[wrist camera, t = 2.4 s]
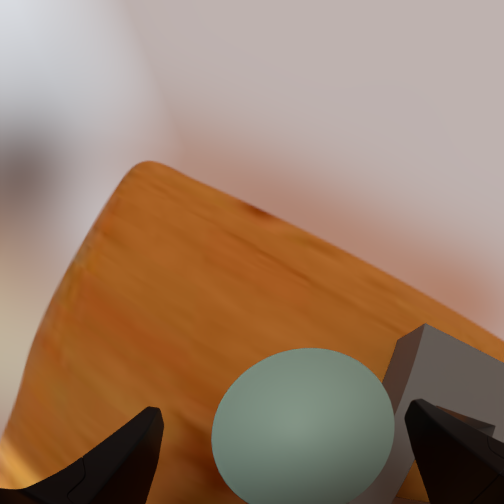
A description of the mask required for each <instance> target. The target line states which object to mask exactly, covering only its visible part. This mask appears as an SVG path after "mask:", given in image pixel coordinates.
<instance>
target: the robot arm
mask: <svg viewBox="0 0 504 504" xmlns="http://www.w3.org/2000/svg"><path fill="white" fill-rule="evenodd" d="M404 420H405V424H406V428H407V432H408V436H409V440H410V444H411V448H412V451H413V454H414V457H415V460H416V463H417V465H418V468H419V471H420V474H421V477H422V480H423V483H424V485H425V488H426V491H427V494H428V498H429V501H430V504H504V443H503V442H501V441H499V440H497V439H495V438H493V437H491V436H489V435H486V434H485V433H483V432H481V431H479V430H478V429H476V428H474V427H472V426H470V425H468V424H467V423H465V422H463V421H461V420H459V419H457V418H456V417H454V416H452V415H450V414H449V413H447V412H445V411H443V410H441V409H440V408H438V407H436V406H434V405H433V404H431V403H429V402H427V401H426V400H424V399H422V398H419V399H415V400H412V401H411V402H410V404H409V407H408V409H407V411H406V413H405V417H404ZM163 430H164V422H163V418H162V414H161V411H160V409H159V408H157V407H150V406H149V407H147V408H145V409H144V410H143V411H141V412H140V413H139V414H138V415H136V416H135V417H134V418H133V419H131V420H130V421H129V422H127V423H126V424H125V425H124V426H122V427H121V428H120V429H118V430H117V431H116V432H115V433H113V434H112V435H111V436H109V437H108V438H107V439H105V440H104V441H103V442H101V443H100V444H99V445H97V446H96V447H95V448H93V449H92V450H90V451H89V452H88V453H86V454H85V455H84V456H83V458H82V457H81V458H79V459H78V460H77V461H75V462H74V463H72V464H71V465H69V466H68V467H66V468H65V469H63V470H61V471H59V472H57V473H56V474H54V475H52V476H50V477H48V478H46V479H44V480H42V481H40V482H38V483H36V484H34V485H31V486H29V487H27V488H23V489H3V488H0V504H145V503H146V500H147V497H148V494H149V490H150V487H151V484H152V481H153V477H154V474H155V471H156V468H157V464H158V459H159V453H160V447H161V441H162V436H163Z"/></svg>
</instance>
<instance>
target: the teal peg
mask: <svg viewBox="0 0 504 504" xmlns="http://www.w3.org/2000/svg"><path fill="white" fill-rule="evenodd" d="M394 426H395V422H394V413H393V409H392V405H391V401H390V399H389V396H388V394H387V392H386V390H385V388H384V387H383V385H382V383H381V382H380V381H379V379H378V378H377V377H376V376H375V375H374V374H373V373H372V372H371V371H370V370H369V369H368V368H367V367H366V366H364V365H363V364H362V363H360V362H359V361H357V360H355V359H353V358H351V357H350V356H347V355H345V354H342V353H339V352H336V351H332V350H328V349H319V348H302V349H293V350H289V351H285V352H281V353H278V354H275V355H273V356H270V357H268V358H266V359H264V360H262V361H260V362H258V363H257V364H255V365H254V366H252V367H251V368H249V369H248V370H247V371H245V372H244V373H243V374H242V375H241V376H240V377H239V378H238V379H237V380H236V381H235V382H234V383H233V384H232V385H231V387H230V388H229V389H228V391H227V392H226V394H225V395H224V397H223V399H222V401H221V402H220V404H219V406H218V409H217V412H216V415H215V418H214V422H213V427H212V451H213V455H214V459H215V463H216V465H217V468H218V470H219V472H220V474H221V476H222V477H223V479H224V481H225V482H226V484H227V485H228V486H229V487H230V488H231V490H232V491H233V492H234V493H235V494H237V495H238V496H239V497H240V498H241V499H243V500H244V501H246V502H247V503H249V504H346V503H348V502H350V501H351V500H353V499H355V498H356V497H357V496H358V495H360V494H361V493H362V492H363V491H365V490H366V489H367V488H368V487H369V486H370V485H371V484H372V483H373V481H374V480H375V479H376V477H377V476H378V475H379V474H380V472H381V470H382V469H383V467H384V465H385V463H386V461H387V459H388V456H389V454H390V451H391V448H392V444H393V438H394Z"/></svg>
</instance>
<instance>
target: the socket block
mask: <svg viewBox="0 0 504 504" xmlns="http://www.w3.org/2000/svg"><path fill="white" fill-rule="evenodd" d="M382 385H383V387H384V388H385V390H386V392H387V394H388V396H389V399H390V401H391V405H392V409H393V413H394V422H395V426H394V438H393V444H392V448H391V451H390V454H389V456H388V459H387V461H386V463H385V465H384V467H383V469H382V470H381V472H380V474H379V475H378V476H377V477H376V479H375V480H374V481H373V483H372V484H371V485H370V486H369V487H368V488H367V489H366V490H365V491H363V492H362V493H361V494H360V495H358V496H357V497H356V498H355V499H353V500H351V501H350V502H348V503H346V504H430V502H423V501H416V500H410V499H404V498H399V497H395V496H396V494H397V493H398V491H399V489H400V487H401V485H402V483H403V482H404V480H405V478H406V476H407V474H408V472H409V470H410V468H411V466H412V464H413V462H414V459H415V457H414V454H413V451H412V448H411V444H410V440H409V436H408V432H407V428H406V424H405V420H404V417H405V413H406V411H407V409H408V407H409V404H410V402H411V401H412V400H415V399H419V398H422V399H424V400H426V401H427V402H429V403H431V404H433V405H434V406H436V407H438V408H440V409H441V410H443V411H445V412H447V413H449V414H450V415H452V416H454V417H456V418H457V419H459V420H461V421H463V422H465V423H467V424H468V425H470V426H472V427H474V428H476V429H478V430H479V431H481V432H483V433H485V434H486V435H489V436H491V437H493V438H495V439H497V440H499V441H501V442H503V443H504V363H503V362H501V361H499V360H497V359H495V358H493V357H491V356H489V355H487V354H485V353H483V352H481V351H479V350H477V349H475V348H473V347H471V346H470V345H468V344H466V343H464V342H462V341H460V340H458V339H456V338H454V337H452V336H450V335H448V334H446V333H444V332H442V331H440V330H438V329H436V328H434V327H432V326H430V325H428V324H426V323H425V324H423V325H422V326H420V327H418V328H417V329H415V330H414V331H412V332H410V333H409V334H407V335H405V336H404V337H402V338H400V339H399V340H398V341H397V344H396V347H395V350H394V353H393V356H392V359H391V362H390V364H389V367H388V370H387V372H386V375H385V378H384V380H383V383H382Z"/></svg>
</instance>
